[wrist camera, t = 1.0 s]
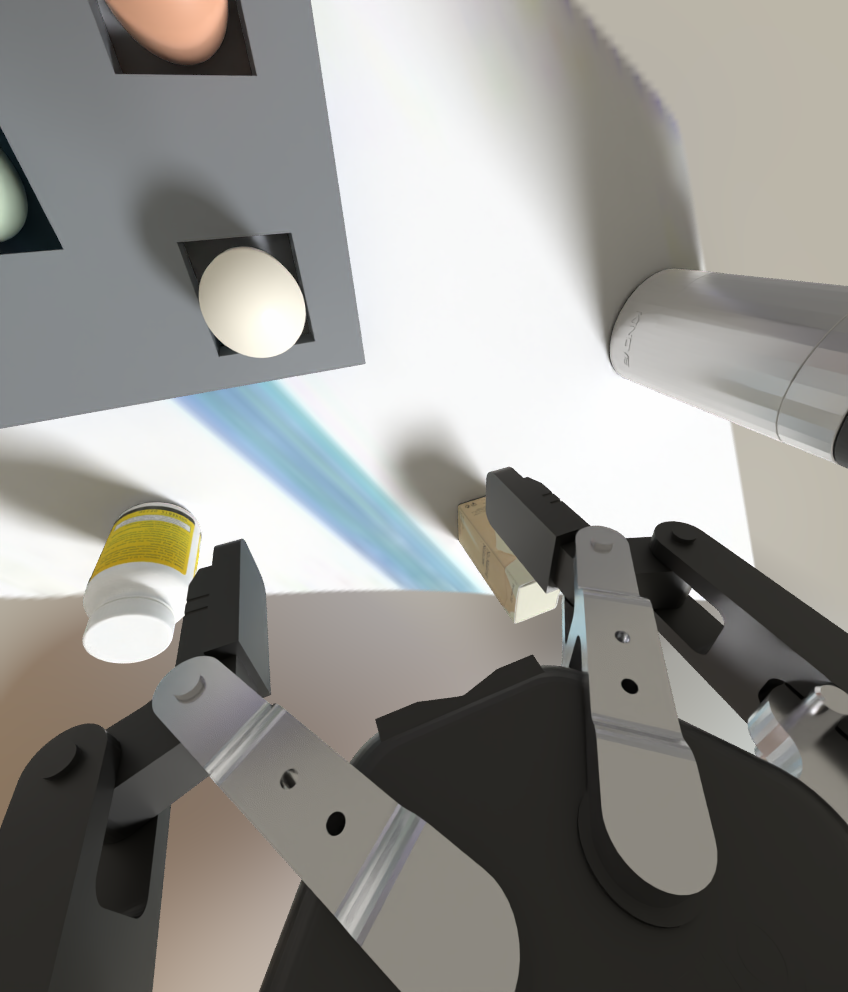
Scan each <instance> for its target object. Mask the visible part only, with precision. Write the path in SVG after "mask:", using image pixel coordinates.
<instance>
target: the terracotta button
mask: <svg viewBox="0 0 848 992" xmlns="http://www.w3.org/2000/svg"><path fill="white" fill-rule="evenodd" d="M105 2H106V4H107V5H108V7H109V8H110V10H111V12H112V13H113V14H114V16H115V17H116V19H117V20H118V21H119V23H120V24H121V25H122V26H123V28H124V29H125V30H126V31H127V32H128V33H129V34H130V35H131V36H132V37H133V38H134V39H135V40H136V41H137V42H138V43H139V44H140V45H141V46H143V47H144V48H145V49H147V50H148V51H149V52H151V53H152V54H154V55H156V56H157V57H159V58H161V59H163V60H166V61H168V62H170V63H174V64H178V65H196V64H199V63H202V62H204V61H206V60H208V59H209V58H210V57H212V56H213V55H214V54H215V53H216V51H217V50H218V49H219V47H220V45H221V44H222V41H223V39H224V36H225V33H226V29H227V23H228V0H105Z"/></svg>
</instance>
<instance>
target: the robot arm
mask: <svg viewBox="0 0 848 992" xmlns="http://www.w3.org/2000/svg"><path fill="white" fill-rule="evenodd" d="M610 358H611V362H612V365H613V368H614V369H615V371H616V372H617V373H618V374H619V375H620V376H621V377H623V378H625V379H628V380H630V381H632V382H635V383H637V384H640V385H642V386H645V387H647V388H650V389H652V390H655V391H657V392H659V393H661V394H664V395H666V396H669V397H671V398H674V399H676V400H679V401H681V402H684V403H686V404H689V405H691V406H694V407H696V408H698V409H701V410H703V411H706V412H708V413H711V414H713V415H716V416H718V417H721V418H723V419H726V420H728V421H731V422H733V423H736V424H738V425H741V426H743V427H746V428H748V429H750V430H753V431H755V432H758V433H760V434H763V435H766V436H768V437H771V438H773V439H775V440H778V441H780V442H783V443H786V444H788V445H791V446H793V447H796V448H798V449H801V450H803V451H806V452H808V453H811V454H813V455H816V456H818V457H820V458H823V459H825V460H828V461H830V462H833V463H835V464H839V465H841V466H843V467H846V468H848V286H841V285H832V284H822V283H813V282H803V281H793V280H783V279H773V278H763V277H753V276H744V275H734V274H724V273H717V272H707V271H697V270H687V269H677V268H672V269H665V270H662V271H660V272H658V273H655V274H654V275H652V276H651V277H649V278H648V279H646V280H645V281H644V282H643V283H642V284H641V285H640V286H639V287H638V288H637V289H636V290H635V291H634V292H633V293H632V295H631V296H630V297H629V298H628V300H627V301H626V303H625V305H624V306H623V308H622V310H621V311H620V313H619V316H618V318H617V320H616V322H615V325H614V329H613V332H612V336H611V342H610ZM486 515H487V519H488V521H489V523H490V525H491V526H492V528H493V529H494V530H495V531H496V533H497V534H498V535H499V536H500V538H501V539H502V540H503V541H504V543H505V544H506V545H507V546H508V547H509V549H510V550H511V551H512V552H513V554H514V555H515V556H516V557H517V559H518V560H519V561H520V562H521V564H522V565H523V566H524V567H525V568H526V570H527V571H528V572H529V573H530V575H531V576H532V577H533V578H534V580H535V581H536V582H537V583H538V585H539V586H540V587H541V588H542V589H543V591H544V592H545V593H546V594H547V593H550V592H553V591H555V590H558V589H559V590H560V591H561V592H562V593H563V598H562V663H561V666H548V665H547V666H545V665H544V666H540V665H539V663H538V662H537V660H536V659H535V657H534V656H533V655H530V656H528V657H525V658H523V659H520V660H518V661H516V662H513V663H511V664H508V665H506V666H504V667H501V668H499V669H497V670H495V671H494V672H493V673H492V674H491V675H489V676H488V677H487V678H485V679H484V680H483V681H481V682H480V683H479V684H478V685H476V686H475V687H474V688H473V689H471V690H470V691H469V692H468V693H466V694H465V695H463V696H459V697H452V698H444V699H437V700H429V701H422V702H416V703H414V704H411V705H409V706H406V707H404V708H402V709H399V710H397V711H394V712H392V713H389V714H387V715H385V716H382V717H380V718H377V719H376V724H377V728H378V731H379V732H378V733H377V734H375V735H374V736H373V737H372V738H370V739H369V740H368V741H367V742H366V743H365V744H364V745H363V746H362V747H361V749H360V750H359V751H358V752H357V753H356V755H355V756H354V757H353V759H352V760H351V761H350V763H349V762H348V761H346V760H345V759H344V758H343V757H342V756H340V755H339V754H338V753H337V752H336V751H334V750H333V749H332V748H331V747H330V746H328V745H327V744H326V743H325V742H324V741H322V740H321V739H320V738H319V737H317V736H316V735H315V734H314V733H313V732H311V731H310V730H309V729H308V728H307V727H306V726H304V725H303V724H302V723H301V722H299V721H298V720H297V719H296V718H295V717H294V716H292V715H291V714H290V713H289V712H287V711H286V710H285V709H284V708H282V707H281V706H279V705H278V704H273V705H271V704H269V703H268V702H267V701H266V700H264V699H263V698H264V697H266V696H269V695H271V688H270V669H269V650H268V649H269V648H268V628H267V608H266V592H265V587H264V583H263V580H262V577H261V574H260V572H259V570H258V568H257V565H256V563H255V561H254V559H253V557H252V555H251V552H250V550H249V548H248V546H247V544H246V542H245V540H244V539H239V540H236V541H232V542H228V543H225V544H221V545H217V546H215V547H214V552H213V561H212V566H208V567H205V568H201V569H199V570H198V572H197V573H196V575H195V576H194V578H193V579H192V581H191V582H190V584H189V586H188V593H187V599H186V601H187V603H186V605H185V611H184V614H185V616H184V617H183V623H182V629H181V635H180V642H179V648H178V655H177V660H176V665H175V668H174V669H172V670H171V671H170V672H169V673H168V674H167V675H166V676H165V677H164V678H163V679H162V680H161V682H160V683H159V685H158V686H157V688H156V690H155V693H154V695H153V699H152V700H151V701H150V702H148V703H147V704H146V705H144V706H143V707H141V708H140V709H138V710H137V711H135V712H133V713H132V714H130V715H129V716H127V717H125V718H124V719H122V720H121V721H119V722H118V723H116V724H114V725H112V726H111V727H109V728H108V729H106V730H105V729H104V728H103V727H101V726H99V725H96V724H82V725H78V726H75V727H73V728H70V729H68V730H66V731H64V732H63V733H61V734H59V735H58V736H56V737H55V738H54V739H52V740H51V741H49V742H48V743H47V744H46V745H45V746H44V747H43V748H41V749H40V750H39V751H38V752H37V753H36V755H35V756H34V757H33V758H32V759H31V761H30V762H29V763H28V764H27V766H26V767H25V769H24V771H23V772H22V774H21V776H20V778H19V780H18V783H17V786H16V788H15V791H14V794H13V797H12V799H11V801H10V804H9V807H8V809H7V812H6V815H5V817H4V820H3V823H2V825H1V828H0V992H152V989H153V978H154V969H155V959H156V949H157V939H158V928H159V919H160V909H161V898H162V889H163V879H164V869H165V859H166V849H167V838H168V828H169V819H170V809H171V804H172V803H173V802H175V801H176V800H177V799H179V798H180V797H181V796H183V795H184V794H185V793H187V792H188V791H189V790H191V789H192V788H193V787H195V786H196V785H197V784H199V783H200V782H201V781H203V780H204V779H205V778H207V777H208V776H210V777H211V778H212V779H213V781H214V782H215V783H216V784H217V785H218V786H219V787H220V789H221V790H222V791H223V792H224V793H225V794H226V795H227V796H228V798H229V799H230V800H231V801H232V802H233V803H234V804H235V805H236V806H237V808H239V810H240V811H241V812H242V813H243V814H244V815H245V816H246V817H247V819H248V820H249V821H250V822H251V823H252V824H253V825H254V826H255V828H256V829H257V830H258V831H259V832H260V833H261V834H262V835H263V837H264V838H265V839H266V840H267V841H268V842H269V843H270V844H271V845H272V847H273V848H274V849H275V850H276V851H277V852H278V853H279V854H280V856H281V857H282V858H283V859H284V860H285V861H286V862H287V863H288V865H289V866H290V867H291V868H292V869H293V870H294V871H295V872H296V873H297V874H298V876H299V877H300V878H301V879H302V880H301V882H300V885H299V888H298V890H297V893H296V895H295V898H294V901H293V903H292V906H291V909H290V912H289V914H288V917H287V919H286V922H285V924H284V927H283V930H282V932H281V935H280V938H279V940H278V943H277V946H276V948H275V951H274V953H273V956H272V959H271V961H270V964H269V967H268V969H267V972H266V974H265V977H264V980H263V983H262V985H261V988H260V990H259V992H848V633H846V632H845V631H844V630H842V629H841V628H839V627H838V626H836V625H835V624H834V623H832V622H831V621H829V620H828V619H827V618H825V617H823V616H822V615H821V614H819V613H818V612H817V611H815V610H814V609H812V608H811V607H809V606H808V605H807V604H805V603H804V602H802V601H801V600H800V599H798V598H797V597H795V596H794V595H792V594H791V593H790V592H788V591H787V590H785V589H784V588H782V587H781V586H780V585H778V584H777V583H775V582H774V581H773V580H771V579H770V578H768V577H767V576H765V575H764V574H763V573H761V572H760V571H758V570H757V569H756V568H754V567H753V566H751V565H750V564H748V563H747V562H746V561H744V560H743V559H741V558H740V557H739V556H737V555H736V554H734V553H733V552H731V551H730V550H729V549H727V548H726V547H724V546H723V545H721V544H720V543H719V542H717V541H716V540H714V539H713V538H712V537H710V536H709V535H707V534H706V533H704V532H703V531H701V530H700V529H698V528H696V527H694V526H692V525H689V524H686V523H682V522H675V521H669V522H663V523H661V524H659V525H657V526H656V528H655V530H654V533H653V535H652V537H641V538H625V537H624V536H623V535H621V534H620V533H619V532H617V531H615V530H613V529H610V528H607V527H603V526H590V525H589V524H588V523H586V522H585V521H584V520H583V519H582V518H581V517H580V516H579V515H577V514H576V513H575V512H574V511H573V510H572V509H571V508H569V507H568V506H567V505H566V504H565V503H564V502H563V501H560V499H559V498H558V497H557V496H556V495H555V494H552V492H551V491H550V490H549V489H548V488H547V487H545V486H544V485H543V484H542V483H540V482H538V481H536V480H533V479H531V478H529V477H526V478H523V477H522V476H521V475H519V474H518V473H517V472H516V471H515V470H514V469H513V468H511V467H507V468H503V469H499V470H496V471H492V472H489V473H488V474H487V478H486ZM691 588H693V589H694V590H695V591H696V592H697V593H699V594H700V595H701V596H702V597H703V598H704V599H706V600H707V601H708V602H709V603H710V604H712V605H713V606H714V607H715V608H716V609H717V610H718V611H719V612H720V614H721V615H722V617H723V620H724V626H723V625H722V624H721V623H720V622H719V621H718V620H717V619H715V618H714V617H713V616H712V615H711V614H710V613H708V611H706V610H705V609H704V608H703V607H702V606H701V605H700V604H698V603H697V602H696V601H695V600H694V599H693V598H692V597H690V596H689V595H688V594H689V592H690V590H691ZM658 632H660V634H661V635H662V636H663V637H664V638H665V639H666V640H667V641H668V642H669V643H670V644H671V645H672V646H673V647H674V648H675V649H676V650H677V651H678V652H679V653H680V654H681V655H682V656H683V657H684V658H685V660H686V661H687V662H688V663H689V664H690V665H691V666H692V667H693V668H694V669H695V670H696V671H697V672H698V673H699V674H700V675H701V676H702V677H703V678H704V679H705V680H706V681H707V682H708V683H709V684H710V685H711V687H712V688H714V690H715V691H716V692H717V693H718V694H719V695H720V696H721V697H722V698H723V699H724V700H725V701H726V702H727V703H728V704H729V705H730V706H731V707H732V708H733V709H734V710H735V711H736V713H738V715H739V716H740V717H741V718H742V719H743V720H744V721H745V722H746V723H747V724H748V730H749V733H750V736H751V738H752V740H753V742H754V743H755V745H756V746H755V754H756V756H755V755H753V754H751V753H749V752H747V751H745V750H743V749H741V748H739V747H737V746H735V745H732V744H730V743H728V742H726V741H724V740H722V739H720V738H718V737H716V736H714V735H712V734H710V733H708V732H706V731H704V730H701V729H700V728H697V727H695V726H693V725H691V724H689V723H687V722H685V721H683V720H681V719H679V718H678V716H677V712H676V708H675V703H674V699H673V695H672V691H671V686H670V682H669V678H668V673H667V669H666V664H665V660H664V656H663V652H662V647H661V643H660V638H659V634H658Z"/></svg>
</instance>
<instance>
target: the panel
mask: <svg viewBox="0 0 848 992" xmlns="http://www.w3.org/2000/svg"><path fill="white" fill-rule="evenodd" d="M236 4H237V9H238V13H239V18H240V22H241V27H242V31H243V36H244V40H245V45H246V49H247V54H248V58H249V62H250V67H251V71H252V76H228V75H150V74H123V73H122V70H121V67H120V65H119V62H118V59H117V56H116V53H115V51H114V48H113V45H112V42H111V39H110V37H109V34H108V31H107V28H106V26H105V23H104V20H103V17H102V14H101V12H100V9H99V6H98V3H97V0H0V127H1V129H2V131H3V133H4V134H5V136H6V138H7V140H8V142H9V144H10V146H11V148H12V150H13V152H14V154H15V156H16V158H17V160H18V162H19V164H20V165H21V167H22V169H23V171H24V173H25V175H26V177H27V179H28V181H29V183H30V185H31V187H32V189H33V191H34V193H35V195H36V197H37V198H38V200H39V202H40V204H41V206H42V208H43V210H44V212H45V214H46V216H47V218H48V220H49V222H50V224H51V226H52V228H53V230H54V231H55V233H56V235H57V237H58V239H59V241H60V243H61V245H62V247H63V249H52V250H40V251H29V252H17V253H5V254H0V429H1V428H7V427H13V426H18V425H24V424H30V423H35V422H41V421H46V420H52V419H58V418H63V417H69V416H75V415H80V414H86V413H91V412H97V411H103V410H108V409H114V408H120V407H125V406H131V405H137V404H142V403H148V402H153V401H159V400H165V399H170V398H176V397H182V396H187V395H193V394H199V393H204V392H210V391H215V390H221V389H227V388H232V387H238V386H244V385H249V384H255V383H260V382H266V381H272V380H277V379H283V378H289V377H294V376H300V375H306V374H311V373H317V372H322V371H328V370H334V369H339V368H345V367H351V366H356V365H362V364H365V357H364V351H363V344H362V337H361V331H360V324H359V317H358V311H357V304H356V298H355V291H354V284H353V278H352V271H351V264H350V258H349V251H348V245H347V238H346V231H345V225H344V218H343V212H342V205H341V198H340V192H339V185H338V178H337V172H336V165H335V159H334V152H333V145H332V139H331V132H330V125H329V119H328V112H327V106H326V99H325V92H324V86H323V79H322V72H321V66H320V59H319V53H318V46H317V39H316V33H315V26H314V19H313V13H312V6H311V0H236ZM281 233H288V237H289V241H290V246H291V250H292V255H293V259H294V264H295V268H296V272H297V277H298V281H299V286H300V290H301V292H302V295H303V299H304V303H305V312H306V317H307V322H308V326H309V331H310V333H307V334H301V335H300V337H299V339H298V340H297V341H296V343H295V344H294V345H293V346H292V347H291V348H289V349H288V350H287V351H285V352H283V353H281V354H279V355H276V356H273V357H267V358H256V357H250V356H246V355H243V354H240V353H238V352H236V351H234V350H232V349H230V348H229V347H227V346H220V343H219V340H218V338H217V337H216V336H215V335H214V334H213V332H212V331H211V330H210V328H209V327H208V325H207V323H206V322H205V319H204V317H203V315H202V312H201V308H200V303H199V285H198V282H197V279H196V276H195V274H194V271H193V268H192V265H191V262H190V260H189V257H188V254H187V251H186V248H185V246H184V243H183V242H188V241H199V240H211V239H223V238H234V237H246V236H257V235H269V234H281Z"/></svg>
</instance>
